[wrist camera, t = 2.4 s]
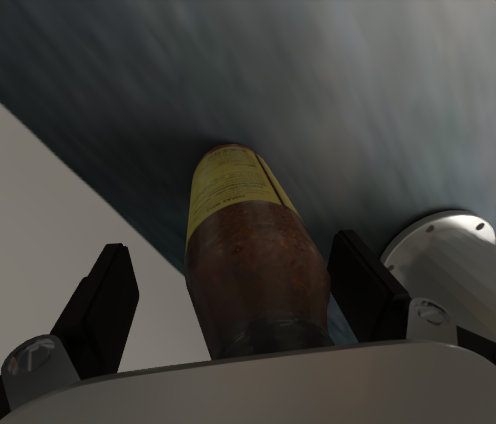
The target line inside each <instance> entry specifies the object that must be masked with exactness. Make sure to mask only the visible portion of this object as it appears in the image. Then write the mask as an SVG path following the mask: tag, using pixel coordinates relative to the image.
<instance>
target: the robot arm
mask: <svg viewBox="0 0 496 424" xmlns="http://www.w3.org/2000/svg"><path fill="white" fill-rule="evenodd" d="M327 271H328V273H329V275H330V277H331V288H330V291H331V293H332V295H333V296H334V298H335V300H336V302H337V304H338V306H339V307H340V309H341V311H342V313H343V315H344V316H345V318H346V320H347V322H348V324H349V326H350V327H351V329H352V331H353V333H354V335H355V336H356V338H357V340H358V342H359V343H354V344H346V345H337V346H328V347H319V348H310V349H302V350H293V351H285V352H276V353H268V354H260V355H251V356H243V357H235V358H226V359H218V360H210V361H202V362H194V363H186V364H178V365H170V366H163V367H155V368H148V369H141V370H135V371H127V372H120V373H117V371H118V368H119V365H120V361H121V358H122V354H123V351H124V347H125V344H126V341H127V337H128V334H129V331H130V327H131V324H132V321H133V317H134V314H135V311H136V307H137V304H138V301H139V290H138V286H137V282H136V278H135V274H134V271H133V266H132V262H131V258H130V254H129V250H128V247H126V246H123V244H122V243H118V244H117V243H116V244H106V246H105V247H104V249H103V251H102V252H101V254H100V256H99V258H98V259H97V261H96V263H95V264H94V266H93V268H92V270H91V272H90V273H89V275H88V277H84V278H83V279H82V280H81V282H80V283H79V285H78V287H77V289H76V290H75V292H74V294H73V295H72V297H71V298H70V300H69V302H68V304H67V305H66V307H65V309H64V310H63V312H62V314H61V315H60V317H59V319H58V320H57V322H56V324H55V326H54V327H53V329H52V330H51V332H50V334H47V335H41V336H37V337H34V338H32V339H29V340H27V341H25V342H24V343H22V344H21V345H19V346H18V347H17V348H16V349H14V350H13V351H12V352H11V353H10V354H9V356H8V357H7V358H6V359H5V361H4V363H3V365H2V368H1V375H0V424H496V246H495V233H494V230H493V228H492V226H491V225H490V224H489V223H488V221H486V220H485V219H483V218H481V217H480V216H478V215H476V214H474V213H471V212H469V211H463V210H448V211H444V212H439V213H435V214H433V215H430V216H427V217H424V218H423V219H421V220H419V221H417V222H415V223H413V224H412V225H410V226H409V227H407V228H406V229H404V230H403V231H402V232H401V233H400V234H399V235H397V236H396V237H395V238H394V239H393V240H392V242H391V243H390V244H389V245H388V246H387V248H386V249H385V251H384V253H383V254H382V256H381V258H380V260H379V259H378V258H377V257H376V255H375V254H374V253H373V252H372V251H371V250H370V249H369V248H368V246H367V245H366V244H365V243H364V242H363V241H362V240H361V239H360V238H359V236H358V235H357V234H356V233H355V232H354V231H353V230H340V231H339V232H338V234H335V236H334V240H333V244H332V249H331V253H330V258H329V262H328V267H327Z"/></svg>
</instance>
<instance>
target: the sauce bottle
mask: <svg viewBox="0 0 496 424" xmlns="http://www.w3.org/2000/svg"><path fill="white" fill-rule="evenodd" d="M185 280H186V285H187V289H188V292H189V295H190V298H191V301H192V303H193V307H194V310H195V313H196V315H197V318H198V321H199V324H200V327H201V330H202V333H203V336H204V339H205V342H206V345H207V348H208V351H209V354H210V357H211V360H218V359H226V358H235V357H243V356H251V355H260V354H268V353H276V352H285V351H293V350H302V349H310V348H319V347H328V346H335V344H334V343H333V341H332V339H331V338H330V336H329V333H328V330H327V325H328V324H327V306H328V303H329V299H330V288H331V277H330V275H329V273H328V271H327V268H326V265H325V262H324V259H323V257H322V255H321V254H320V252H319V250H318V249H317V247H316V246H315V244H314V242H313V241H312V239H311V238H310V236H309V235H308V231H307V228H306V226H305V224H304V222H303V220H302V219H301V217H300V216H299V214H298V212H297V211H296V209H295V208H294V206H293V205H292V203H291V202H290V200H289V198H288V197H287V195H286V194H285V192H284V191H283V189H282V188H281V186H280V185H279V183H278V181H277V180H276V178H275V177H274V175H273V174H272V172H271V170H270V169H269V167H268V166H267V164H266V163H265V161H264V160H263V159H262V158H261V157H260V156H259V155H258V154H256V153H255V152H254V151H253V150H252V149H251V148H249V147H246V146H243V145H240V144H225V145H219V146H216V147H214V148H213V149H211V150H210V151H209V152H208V153H207V154H205V155H204V156H203V157H202V158H201V160H200V161H199V163H198V164H197V167H196V170H195V173H194V175H193V180H192V188H191V199H190V210H189V220H188V230H187V241H186V252H185Z"/></svg>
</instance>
